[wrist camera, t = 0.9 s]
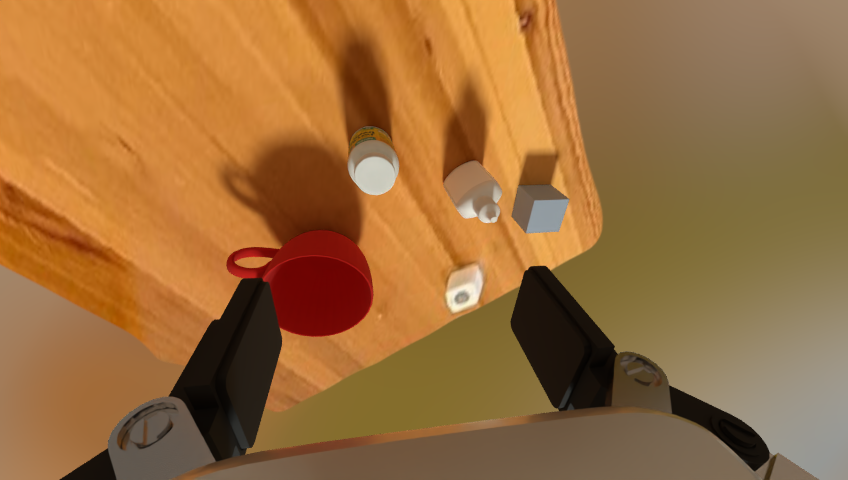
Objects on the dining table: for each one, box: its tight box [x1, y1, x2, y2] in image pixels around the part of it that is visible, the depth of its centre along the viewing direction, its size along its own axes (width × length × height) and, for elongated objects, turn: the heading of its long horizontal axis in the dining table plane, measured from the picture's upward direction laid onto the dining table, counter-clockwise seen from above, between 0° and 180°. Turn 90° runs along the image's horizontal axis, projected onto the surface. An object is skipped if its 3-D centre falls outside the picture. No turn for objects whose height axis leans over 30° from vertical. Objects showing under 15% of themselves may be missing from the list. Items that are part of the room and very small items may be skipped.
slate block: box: [512, 185, 569, 233], centre depth 44 cm, size 5×5×5 cm
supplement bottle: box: [348, 126, 399, 195], centre depth 34 cm, size 5×5×10 cm
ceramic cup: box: [226, 230, 373, 337], centre depth 40 cm, size 13×17×10 cm
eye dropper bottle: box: [443, 160, 502, 223], centre depth 37 cm, size 4×6×12 cm
